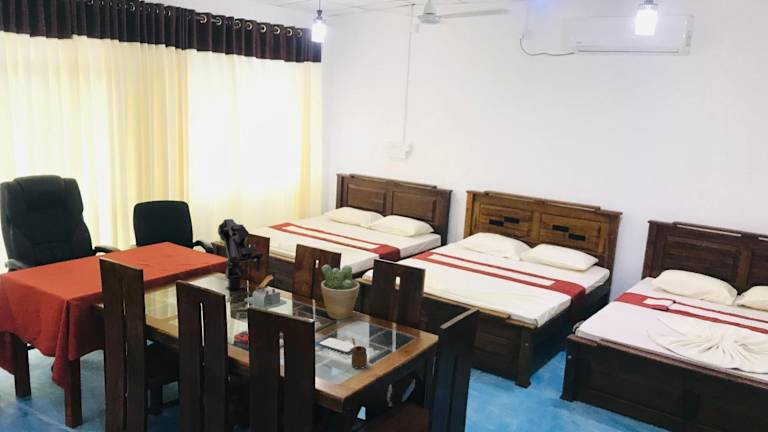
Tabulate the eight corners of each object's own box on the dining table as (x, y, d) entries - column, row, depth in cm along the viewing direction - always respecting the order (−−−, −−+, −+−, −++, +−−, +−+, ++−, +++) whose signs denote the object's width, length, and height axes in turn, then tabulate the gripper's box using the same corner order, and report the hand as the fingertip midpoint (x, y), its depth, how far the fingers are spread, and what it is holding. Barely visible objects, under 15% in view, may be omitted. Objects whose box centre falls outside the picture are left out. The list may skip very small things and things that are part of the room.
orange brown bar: (258, 291, 288) (257, 288, 289) (263, 289, 290) (261, 287, 291) (269, 279, 282) (267, 275, 282) (273, 277, 284) (271, 275, 284)
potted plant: (346, 306, 287) (348, 258, 282) (366, 318, 272) (368, 267, 267) (314, 312, 277) (314, 262, 272) (332, 324, 262) (333, 272, 257)
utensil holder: (369, 366, 220) (370, 337, 218) (356, 370, 216) (357, 340, 214) (361, 361, 225) (362, 332, 223) (347, 364, 221) (348, 335, 219)
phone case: (316, 346, 238) (347, 356, 229) (316, 343, 238) (347, 352, 229) (330, 340, 245) (360, 349, 237) (330, 336, 245) (360, 345, 236)
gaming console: (275, 319, 261) (290, 323, 255) (275, 325, 262) (290, 329, 255) (232, 334, 243) (247, 339, 236) (232, 340, 243) (247, 345, 237)
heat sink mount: (244, 301, 289) (244, 286, 287) (264, 295, 299) (264, 281, 297) (265, 309, 278) (265, 294, 277) (286, 303, 288) (286, 289, 286)
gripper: (228, 242, 281) (238, 270, 276) (263, 237, 293) (272, 264, 288) (221, 252, 289) (231, 280, 284) (255, 247, 301) (264, 273, 296)
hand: (250, 274), depth 288 cm, fingers open, 9 cm apart
